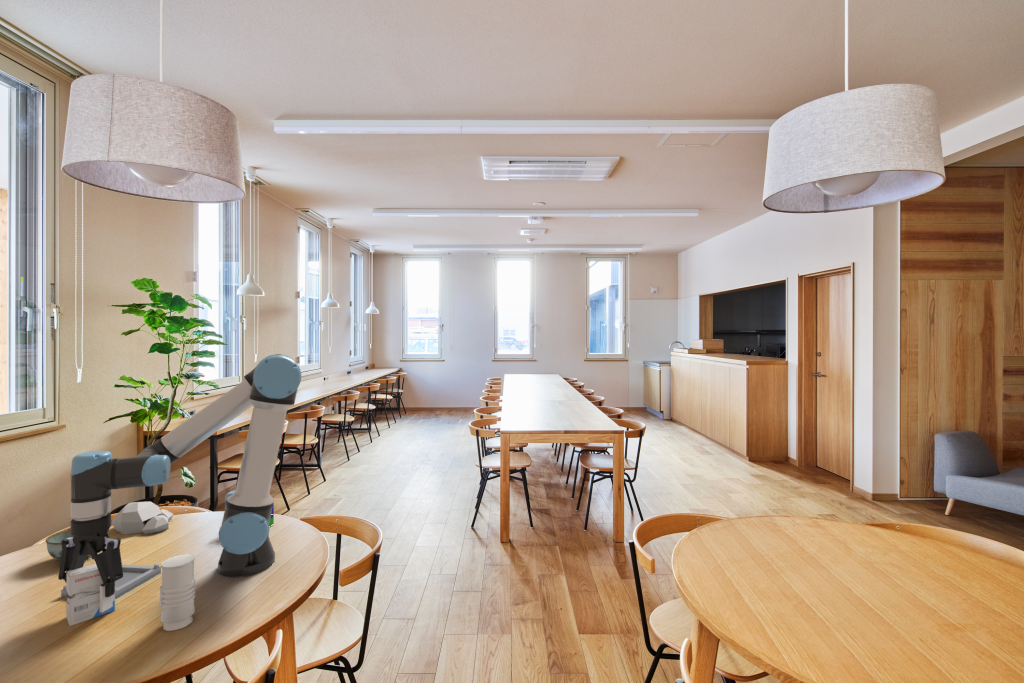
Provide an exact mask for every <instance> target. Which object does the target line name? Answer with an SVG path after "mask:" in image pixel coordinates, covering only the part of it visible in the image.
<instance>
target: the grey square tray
mask: <svg viewBox="0 0 1024 683" xmlns="http://www.w3.org/2000/svg"><path fill="white" fill-rule="evenodd" d="M122 569H123V577H122V578H121V579H119V580H117V581H115V600H117V599H119V598H120V597H122V596H123V595H125V593H126V594H127V593H129V592H131V591H133V590H134V589H135V588H138V587H140V586H141V585H143V584H144V583H146V582H148V581H150V580H151V579H153V578H155V577H157V576H158V575H159V574H160V575H161V574H162V567H161V566H160V564H159V563H156V564H153V565H136V564H122ZM156 575H157V576H156ZM60 597H61V598H66V585H64V586H63V588H62V589H61V590H60Z"/></svg>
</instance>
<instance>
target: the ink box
mask: <svg viewBox="0 0 1024 683" xmlns="http://www.w3.org/2000/svg"><path fill="white" fill-rule="evenodd" d="M66 572H67V583H66V597H65V598H66V605H65V606H66V612H65V613H66V615H65V616H66V622H67V623H68V626H69V627H72V626H74V625H77V624H81V623H83V622H86V621H89V620H91V619H95V618H98V617H101V616H104V615H107V614H109V613H113V612H115V611H116V599H115V593H114V595H113V607H111V608H109V609H107V610H106V611H104V612H100V585H101V584H103V581H102V579H101V576H100V573H99V571H98V568H97V565H96V563H94V564H89V565H85V566H83V567H82V568H78V569H74V570H70V571H66ZM108 578H109V577H108Z"/></svg>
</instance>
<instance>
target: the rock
mask: <svg viewBox="0 0 1024 683" xmlns="http://www.w3.org/2000/svg"><path fill="white" fill-rule="evenodd" d="M173 516H174V513H172V512H171V511H169V510H167V509H165V508H163V509H160V507H159V505H157V504H156V503H153V502H152V501H150V500H149V501H135V502H128V503H127V504H126V505H125V506H124V507H123V508H121V510H120V511H119V512H118V513H117V514H116V515H115V516H114V517H113V518H111V525H112V526H113V529H114V530H115V531H116V532H118V533H120V534H122V535H130V534H139V533H140V534H141V533H143V534H144V535H150V534H155V533H161V532H163V531H166V530H169V522H171V520H172V518H173ZM146 521H147V522H146ZM145 522H146V523H145Z"/></svg>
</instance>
